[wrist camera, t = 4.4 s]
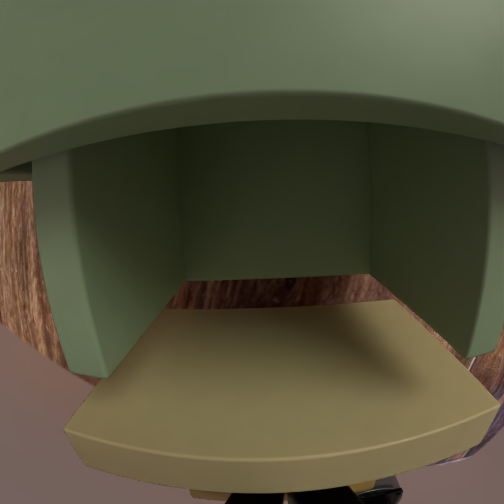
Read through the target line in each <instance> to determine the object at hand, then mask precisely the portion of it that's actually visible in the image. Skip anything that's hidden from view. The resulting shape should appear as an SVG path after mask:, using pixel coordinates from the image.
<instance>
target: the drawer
mask: <svg viewBox="0 0 504 504" xmlns="http://www.w3.org/2000/svg"><path fill="white" fill-rule="evenodd" d="M32 183H33V203H34V215H35V226H36V234H37V242H38V249H39V256H40V262H41V268H42V273H43V278H44V283H45V288H46V292H47V297H48V301H49V305H50V309H51V313H52V317H53V321H54V324H55V328H56V331H57V335H58V338H59V341H60V344H61V348H62V351H63V354H64V357H65V359H66V362H67V365H68V368H69V370H70V371H71V372H72V373H75V374H80V375H85V376H90V377H96V378H102V379H101V380H100V381H99V382H98V384H97V385H96V386H95V387H94V389H93V390H92V391H91V392H90V394H89V395H88V397H87V398H86V399H85V400H84V401H83V403H82V404H81V405H80V407H79V408H78V409H77V411H76V412H75V413H74V414H73V416H72V417H71V418H70V420H69V421H68V422H67V424H66V425H65V426H64V428H63V431H64V433H65V434H66V436H67V438H68V439H69V441H70V443H71V445H72V446H73V448H74V449H75V451H76V453H77V454H78V456H79V457H80V459H81V460H82V462H83V463H84V465H86V466H88V467H91V468H94V469H98V470H101V471H104V472H107V473H111V474H115V475H118V476H122V477H126V478H130V479H134V480H139V481H143V482H148V483H153V484H158V485H164V486H170V487H177V488H183V489H189V490H190V494H191V496H192V497H193V498H199V499H207V500H220V501H227V499H228V498H229V496H230V494H231V493H285V496H284V501H288V499H287V493H286V492H301V491H311V490H320V489H328V488H335V487H342V486H349V487H350V488H351V489H352V490H353V491H354V493H355V492H360V491H365V490H369V489H371V488H373V487H374V485H375V481H376V480H377V479H381V478H386V477H389V476H393V475H397V474H401V473H404V472H407V471H411V470H414V469H417V468H420V467H423V466H426V465H429V464H432V463H435V462H437V461H440V460H443V459H445V458H448V457H450V456H453V455H455V454H458V453H460V452H462V451H465V450H467V449H469V448H471V447H474V446H476V445H478V444H479V443H480V442H481V441H482V439H483V437H484V436H485V434H486V432H487V430H488V429H489V427H490V425H491V423H492V421H493V419H494V417H495V415H496V414H497V412H498V410H499V408H500V403H499V402H498V401H497V400H496V399H495V398H494V397H493V396H492V395H491V394H490V393H489V392H488V390H487V389H486V388H485V387H484V386H483V385H482V384H481V383H480V382H479V381H478V380H477V379H476V378H475V377H474V376H473V375H472V374H471V373H470V372H469V371H468V370H467V369H466V368H465V367H464V366H463V365H462V364H461V363H460V362H459V361H458V360H457V359H456V358H455V357H454V356H453V355H452V354H451V353H450V352H449V351H448V350H447V349H446V348H445V347H444V346H443V345H442V344H441V343H440V342H439V341H438V340H437V339H436V338H435V337H434V336H433V335H432V334H431V333H430V332H429V331H428V330H427V329H426V328H424V327H423V326H422V325H421V324H420V323H419V322H418V321H417V320H416V319H415V318H414V317H413V316H412V315H411V314H409V313H408V312H407V311H406V310H405V309H404V308H403V307H402V306H401V305H400V304H399V303H397V302H396V301H395V300H394V299H392V300H381V301H370V302H358V303H345V304H331V305H316V306H298V307H276V308H245V309H164V307H165V306H166V305H167V304H168V303H169V301H170V300H171V299H172V298H173V296H174V295H175V294H176V293H177V292H178V290H179V289H180V288H181V287H182V285H183V284H184V283H185V281H210V280H245V279H273V278H297V277H319V276H338V275H355V274H370V275H371V276H373V277H374V278H375V279H376V280H377V281H379V282H380V283H381V284H382V285H383V286H385V287H386V288H387V289H388V290H389V291H390V292H392V293H393V294H394V295H395V296H396V297H397V298H399V299H400V300H401V301H402V302H403V303H404V304H405V305H407V306H408V307H409V308H410V309H411V310H412V311H413V312H415V313H416V314H417V315H418V316H419V317H420V318H421V319H422V320H424V321H425V322H426V323H427V324H428V325H429V326H430V327H431V328H432V329H433V330H435V331H436V332H437V333H438V334H439V335H440V336H441V337H442V338H443V339H444V340H445V341H446V342H448V343H449V344H450V345H451V346H452V347H453V348H454V349H455V350H456V351H457V352H458V353H459V354H460V355H461V356H462V357H463V358H465V359H470V358H473V357H477V356H480V355H483V354H486V353H489V352H492V351H494V350H495V349H496V348H497V344H498V341H499V338H500V334H501V331H502V327H503V323H504V145H501V144H497V143H494V142H490V141H486V140H481V139H477V138H473V137H468V136H463V135H458V134H453V133H448V132H442V131H436V130H430V129H424V128H417V127H409V126H401V125H393V124H383V123H372V122H358V121H341V120H257V121H239V122H225V123H214V124H204V125H195V126H186V127H179V128H171V129H164V130H158V131H152V132H146V133H140V134H135V135H129V136H124V137H119V138H114V139H110V140H105V141H101V142H96V143H92V144H88V145H84V146H80V147H76V148H72V149H69V150H65V151H61V152H58V153H55V154H51V155H48V156H45V157H41V158H38V159H35V160H32Z"/></svg>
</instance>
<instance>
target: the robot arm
mask: <svg viewBox="0 0 504 504" xmlns="http://www.w3.org/2000/svg"><path fill="white" fill-rule="evenodd" d="M286 493H287V499H288V504H395V503H396V502H397V501H398V499H399V498H400V496H401V495H402V493H403V489H402V488H396V489H393V490H389V491H385V492H381V493H377V494H373V495H368V496H364V497H358V496H357V495H356V494H355V493H354V491H353V490H352V489H351V488H350V487H349V486H342V487H335V488H328V489H320V490H311V491H301V492H286ZM284 496H285V493H231V494H230V496H229V498H228V499H227V501H226V503H225V504H283V503H284Z"/></svg>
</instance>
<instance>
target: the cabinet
mask: <svg viewBox="0 0 504 504" xmlns="http://www.w3.org/2000/svg"><path fill="white" fill-rule="evenodd" d="M257 120H341V121H358V122H372V123H383V124H393V125H401V126H409V127H417V128H424V129H430V130H436V131H442V132H448V133H453V134H458V135H463V136H468V137H473V138H477V139H481V140H486V141H490V142H494V143H497V144H501V145H504V0H0V182H7V181H32V160H35V159H38V158H41V157H45V156H48V155H51V154H55V153H58V152H61V151H65V150H69V149H72V148H76V147H80V146H84V145H88V144H92V143H96V142H101V141H105V140H110V139H114V138H119V137H124V136H129V135H135V134H140V133H146V132H152V131H158V130H164V129H171V128H179V127H186V126H195V125H204V124H214V123H225V122H239V121H257Z"/></svg>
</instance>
